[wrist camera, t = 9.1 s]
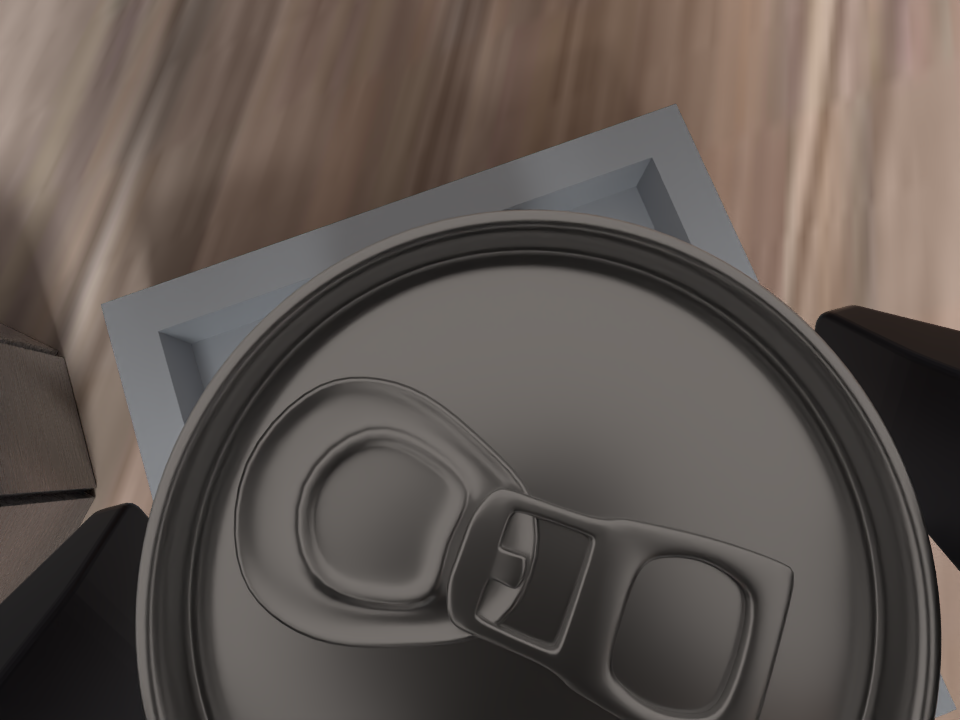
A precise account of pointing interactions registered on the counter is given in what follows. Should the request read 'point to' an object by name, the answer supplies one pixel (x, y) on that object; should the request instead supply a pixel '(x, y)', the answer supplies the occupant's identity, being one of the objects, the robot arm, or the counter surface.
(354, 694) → the can
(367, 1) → the counter surface
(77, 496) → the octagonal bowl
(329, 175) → the counter surface
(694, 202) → the tray
